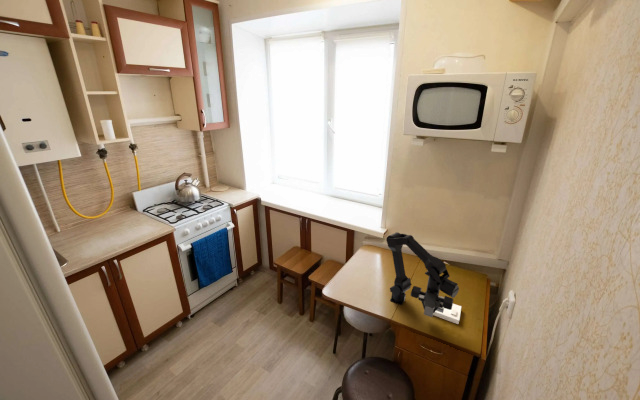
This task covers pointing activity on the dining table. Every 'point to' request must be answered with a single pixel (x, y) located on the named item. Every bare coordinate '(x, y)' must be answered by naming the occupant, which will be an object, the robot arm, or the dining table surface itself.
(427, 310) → the plug
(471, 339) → the dining table surface
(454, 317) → the socket plate
